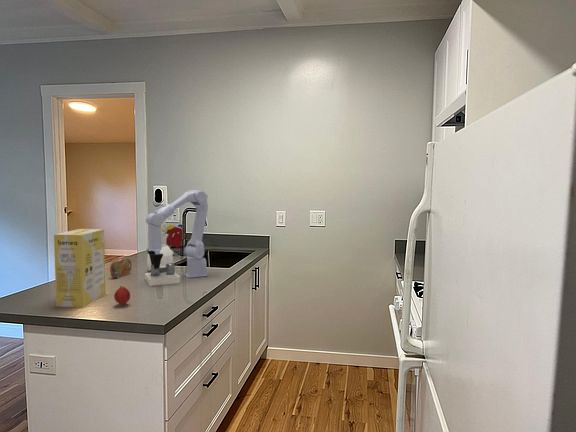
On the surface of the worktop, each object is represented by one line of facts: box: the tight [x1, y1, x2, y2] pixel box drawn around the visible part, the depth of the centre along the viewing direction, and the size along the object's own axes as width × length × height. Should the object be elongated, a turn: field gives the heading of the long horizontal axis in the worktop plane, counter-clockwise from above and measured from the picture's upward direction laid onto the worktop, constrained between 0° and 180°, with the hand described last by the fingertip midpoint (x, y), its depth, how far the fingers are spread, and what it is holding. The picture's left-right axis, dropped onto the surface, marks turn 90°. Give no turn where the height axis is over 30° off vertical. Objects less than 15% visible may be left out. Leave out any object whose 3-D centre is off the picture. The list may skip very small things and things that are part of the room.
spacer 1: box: [150, 264, 160, 276], centre depth 197 cm, size 4×4×5 cm
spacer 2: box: [166, 262, 176, 275], centre depth 201 cm, size 4×4×5 cm
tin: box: [109, 258, 132, 279], centre depth 210 cm, size 15×3×8 cm, turn 168°
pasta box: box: [53, 228, 107, 308], centre depth 167 cm, size 18×10×28 cm, turn 178°
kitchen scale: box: [144, 265, 181, 287], centre depth 201 cm, size 14×15×6 cm
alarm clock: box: [165, 219, 188, 249], centre depth 297 cm, size 15×9×20 cm, turn 130°
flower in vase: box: [161, 219, 174, 256], centre depth 264 cm, size 13×11×25 cm
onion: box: [113, 285, 131, 307], centre depth 162 cm, size 6×6×8 cm
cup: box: [146, 244, 174, 271], centre depth 223 cm, size 13×13×14 cm
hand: (155, 266), depth 197 cm, fingers open, 7 cm apart
